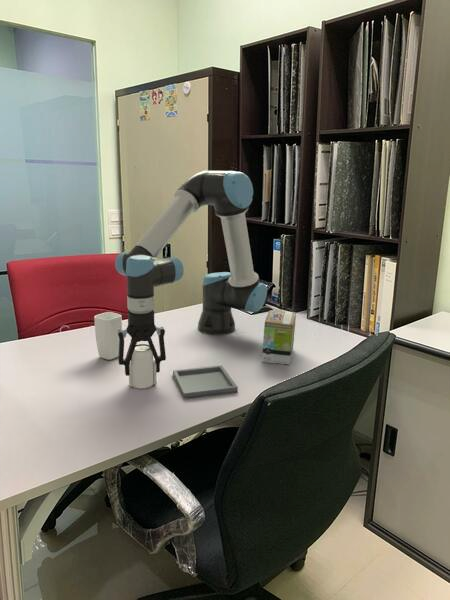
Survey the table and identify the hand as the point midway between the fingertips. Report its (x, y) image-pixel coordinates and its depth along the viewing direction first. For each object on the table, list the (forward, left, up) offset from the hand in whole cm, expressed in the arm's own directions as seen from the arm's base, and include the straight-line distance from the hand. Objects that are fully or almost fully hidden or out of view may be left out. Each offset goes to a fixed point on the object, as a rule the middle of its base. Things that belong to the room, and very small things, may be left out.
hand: (142, 383), depth 139 cm
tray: (+4, +18, 0) cm, 18 cm away
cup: (-24, -8, -1) cm, 25 cm away
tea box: (-11, +49, -1) cm, 50 cm away
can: (0, 0, -1) cm, 1 cm away
